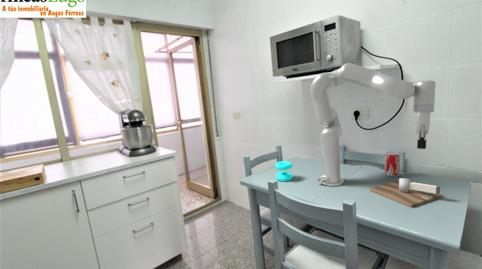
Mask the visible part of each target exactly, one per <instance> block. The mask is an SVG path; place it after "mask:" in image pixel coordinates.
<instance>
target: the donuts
mask: <svg viewBox="0 0 482 269" xmlns="http://www.w3.org/2000/svg"><path fill="white" fill-rule="evenodd" d="M292 167H293V163H292V162H290V161H285V160H284V161H283V160H282V161H277V162H276V163H275V168H276V170H279V171H281V172H277V174H276V176H275V177H276V178H275V179H276V180H277V181H281V182H289V181H292V179H293V177H294V176H293V174H292V173H291V172H289V170H290V169H291V168H292Z"/></svg>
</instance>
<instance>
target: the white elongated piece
mask: <svg viewBox="0 0 482 269" xmlns="http://www.w3.org/2000/svg"><path fill="white" fill-rule="evenodd" d="M398 180H399V191H402V192H409V189H412V190H418V191H423V192H429V193H435V194H441V186H439V185H432V184H426V183H420V182H419V183H418V182H414V181H413V182H412V181H410V179H409V178H406V177H400V178H399V179H398Z"/></svg>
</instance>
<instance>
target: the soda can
mask: <svg viewBox="0 0 482 269" xmlns="http://www.w3.org/2000/svg"><path fill="white" fill-rule="evenodd" d="M400 167H401V156H400V153H399V152H396V151H386V154H385V155H384V175H385V176H387V177H391V178H397V177H398V176H400V171H401V170H400V169H401V168H400Z"/></svg>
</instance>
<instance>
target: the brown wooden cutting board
mask: <svg viewBox="0 0 482 269" xmlns="http://www.w3.org/2000/svg"><path fill="white" fill-rule="evenodd" d="M368 191H370V192H372V193H374V194H377V195H379V196H382V197H385V198H386V199H389V200H391V201H393V202H397V203H399V204H402V205H403V206H406V207H409V208H410V209H411V208H414V207H417V206H421V205H424V204H427V203H429V202H432V201H435V200H437V199H438V200H439V199H441V198H443V196H444V194H443V193H440V194H435V193H429V192H423V191H418V190H412V189H409V192H402V191H399V179H397V180H393V181H390V182H386V183H383V184H379V185H376V186H373V187H370V188H369V190H368Z"/></svg>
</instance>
